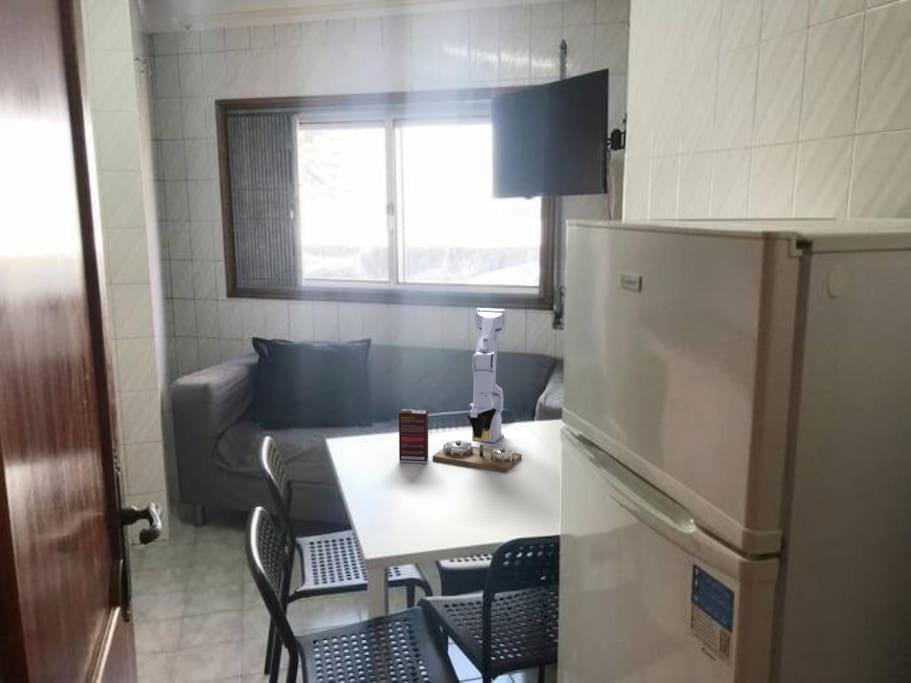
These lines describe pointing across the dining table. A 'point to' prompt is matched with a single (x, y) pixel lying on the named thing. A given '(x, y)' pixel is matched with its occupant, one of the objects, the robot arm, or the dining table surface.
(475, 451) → the gear board
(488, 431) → the brass gear
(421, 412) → the supplement box
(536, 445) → the dining table surface
